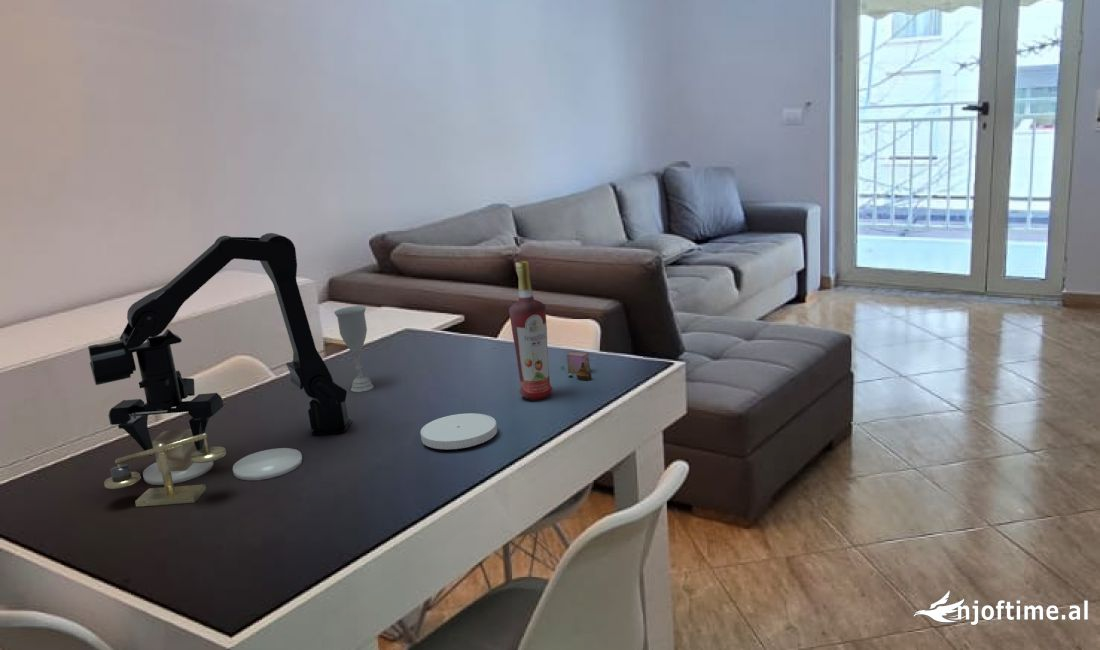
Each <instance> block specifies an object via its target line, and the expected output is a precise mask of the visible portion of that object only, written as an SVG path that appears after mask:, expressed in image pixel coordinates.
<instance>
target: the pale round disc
mask: <svg viewBox="0 0 1100 650" xmlns="http://www.w3.org/2000/svg"><path fill="white" fill-rule="evenodd" d="M214 465H215V463H214V461H211V462H207V463H193V464H192V465H191V466H190V467H189V468H188V469H187V470H184V471H171V476H172V480H173V485H174V484H180V483H184V482H187V481H191V480H193V479H196V478H198V477H200V476H203V475H204V474H206V473H209V472H210V470H212V468H213V467H214ZM142 475H143V480H144V482H145V483H147V484H149V485H155V486H164V482H163V477H162V472H159V470H158V466H157V461H155V462H154V463H152V464H150V465H148V466H147V467H145V469H144V470H143V471H142Z"/></svg>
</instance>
